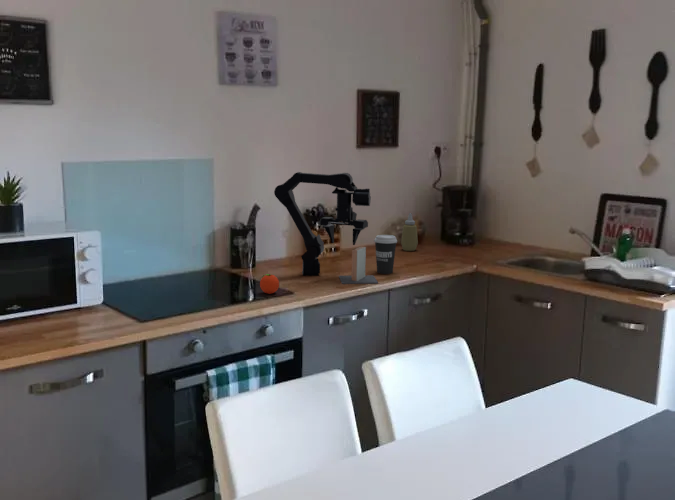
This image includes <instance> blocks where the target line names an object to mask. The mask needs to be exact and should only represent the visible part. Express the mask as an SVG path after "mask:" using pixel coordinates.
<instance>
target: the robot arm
mask: <svg viewBox="0 0 675 500" xmlns="http://www.w3.org/2000/svg"><path fill="white" fill-rule="evenodd" d="M300 183H306V184H316V185H317V184H318V185H329V186H331V187H334V190H333V191H331V194H334V195H336V207H335V210H334V211H336V217H335V218H334V216H324V217H321V218H320V220H319V226H322V228H323V229H324V230H325V231H326V234H327V235H328V238H329V240H330V243H331V244H334V243H335V230H334V229H335V225H340V226H352V227H353V228H352V245H353V246H355V245H356V243H357V240H358V238H359V235H360V233H361V231H363V230H365V229H366V228H368V227H369V222H368V220H367V219H357V215H358V214H357V213H356V212H355V211H353V208H354V207H352V203H353V204H354V206H359V207H360V206H362V207H370V206H371V198H372V197H371V190H370V188H358V187H357V186H356V184H355V183H354V180H353V176H352V175H351V174H350V173H348V172H342V173H332V174H323V173H313V172H312V173H310V172H308V173H307V172H301V171H297V172H295V173H294V174H293V175H292V176H291V177H290V178H289V179H287V180H286V181H285V182H283V183H281V184H279V185H277V186H276V187H275V188H274V192H273V193H274V194H273V195H274V196H275V198H276V199H277V200H278V201H279V202H280V203H281V205H283V207H285V209H286V210H287V212H288V213H289V215H290V217H291V219H292V221H293V222H294V224H295V226H296V228H297V229H298V231H299V233H300V234H301V237H302V239H303V243H304V247H305V250H306V251H305V252H304V253H303V254H302V255H301V260H302V273H301V274H302V276H305V277H306V276H310V277H311V276H314V277H317V276H320V274H321V263H320V262H319V256H321V254H322V253H323V252H324V249H325V246H324V244H325V242H324V241H323V240H322V237H321V235H320V234H317V235H316V234H315V233H313V231H312V229H311V227H310V226H309V224H308V221H307V219H306V218H305V217H304V215H303V213H302V212H301V210H300V208H299V206H298V204H297V201H296V199H295V198H296V197H295V194H294V191H293V190H294V189H295V188H296V187H298V185H300Z"/></svg>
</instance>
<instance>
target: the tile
mask: <svg viewBox="0 0 675 500" xmlns="http://www.w3.org/2000/svg"><path fill="white" fill-rule="evenodd" d="M366 250H367V247H366V246H359V247H356V248H353V249H351V276H352V280H353V281H358V280H360V279H362V278H364V277H365V275H366V258H367V257H366V254H367V251H366Z"/></svg>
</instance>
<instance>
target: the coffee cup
mask: <svg viewBox="0 0 675 500" xmlns="http://www.w3.org/2000/svg"><path fill="white" fill-rule="evenodd" d="M397 239H398V238H397V237H396V236H395V235H392V234H378V235H376V236H375V238H374V240H373V242H374V244H375V261H376V262H375V264H376V272H377V273H378V274H384V275H388V274H389V275H390V274H393V273H394V264H395V255H396V245H397V243H398V240H397Z"/></svg>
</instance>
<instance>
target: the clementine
mask: <svg viewBox="0 0 675 500" xmlns="http://www.w3.org/2000/svg"><path fill="white" fill-rule="evenodd" d="M259 281H260V282H259V286H260V289H261V291H263V293H265V294H267V295H268V294H269V295H270V294H274V293H276V292H277V291H278V289H279V287H280V281H279V278H278V277H276V275H274V274H270V273H267V274H263V275H262V276H261V278H260V280H259Z"/></svg>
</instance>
